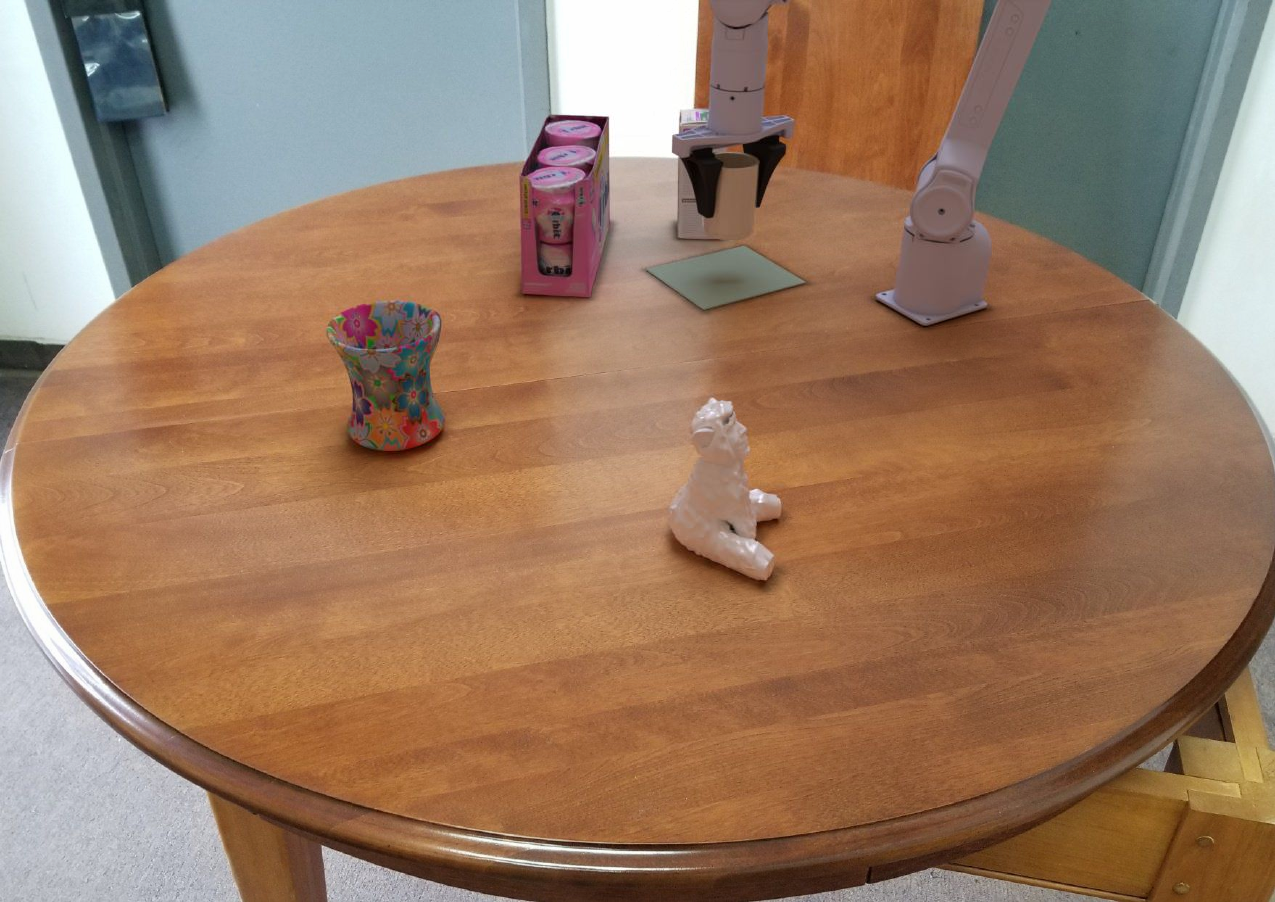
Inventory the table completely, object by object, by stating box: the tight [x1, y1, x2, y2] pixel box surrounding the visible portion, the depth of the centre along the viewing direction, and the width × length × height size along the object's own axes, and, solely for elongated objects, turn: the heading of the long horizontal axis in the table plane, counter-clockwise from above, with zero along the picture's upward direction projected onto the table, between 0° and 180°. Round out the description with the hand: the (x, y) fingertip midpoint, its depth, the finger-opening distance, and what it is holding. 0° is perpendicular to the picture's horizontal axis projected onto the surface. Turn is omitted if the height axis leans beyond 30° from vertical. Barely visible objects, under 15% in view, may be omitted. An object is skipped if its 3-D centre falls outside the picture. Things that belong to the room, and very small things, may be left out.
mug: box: [325, 300, 446, 452], centre depth 93 cm, size 12×9×11 cm
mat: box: [645, 245, 806, 311], centre depth 123 cm, size 14×12×1 cm
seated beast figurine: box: [667, 397, 782, 581], centre depth 80 cm, size 10×9×12 cm
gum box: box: [518, 113, 611, 298], centre depth 123 cm, size 24×8×14 cm, turn 176°
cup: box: [702, 151, 760, 241], centre depth 118 cm, size 6×6×8 cm
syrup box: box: [676, 108, 727, 240], centre depth 131 cm, size 6×6×14 cm
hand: (729, 209), depth 119 cm, fingers closed on cup, 6 cm apart
